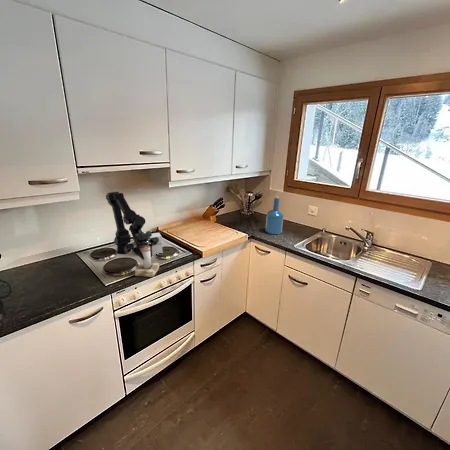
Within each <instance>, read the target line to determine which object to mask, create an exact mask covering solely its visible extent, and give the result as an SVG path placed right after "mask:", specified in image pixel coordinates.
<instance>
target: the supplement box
mask: <svg viewBox="0 0 450 450" xmlns="http://www.w3.org/2000/svg"><path fill="white" fill-rule="evenodd" d="M151 234H152V236H150V237H149V239H148V240H147V241H149V240H150V239H151V238H154V237H157V238H158V239H159V242H158V243H157V244H156V245H153V246H152V256H156V254H157V255H160V254H159V253H162V254H163V238H162V237H163V236H162V235H161V233H160V232H153V233H152V232H151Z"/></svg>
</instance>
